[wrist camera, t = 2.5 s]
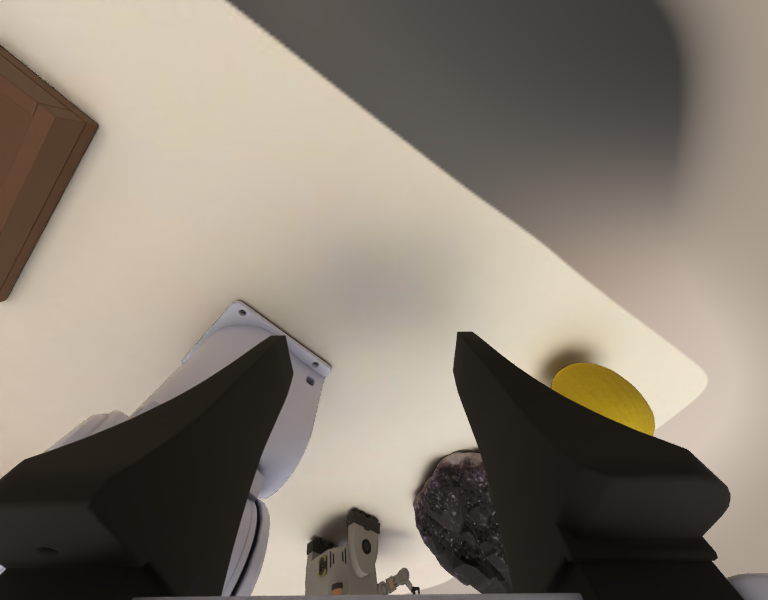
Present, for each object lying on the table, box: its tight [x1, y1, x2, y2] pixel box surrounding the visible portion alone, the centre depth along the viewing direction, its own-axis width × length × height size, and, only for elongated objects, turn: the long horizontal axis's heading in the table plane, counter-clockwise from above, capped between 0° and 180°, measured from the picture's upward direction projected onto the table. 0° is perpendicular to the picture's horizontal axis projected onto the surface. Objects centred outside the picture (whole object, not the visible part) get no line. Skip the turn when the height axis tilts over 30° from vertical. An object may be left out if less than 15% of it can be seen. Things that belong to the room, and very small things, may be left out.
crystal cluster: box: [413, 452, 514, 594], centre depth 27 cm, size 13×14×10 cm
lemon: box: [551, 363, 655, 436], centre depth 21 cm, size 6×6×8 cm
